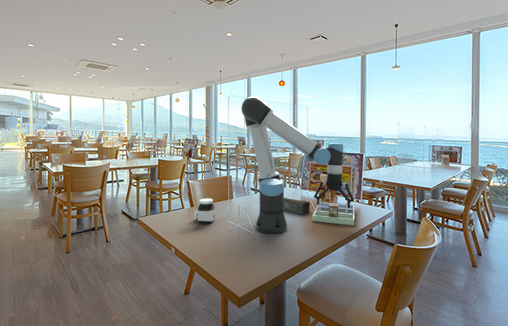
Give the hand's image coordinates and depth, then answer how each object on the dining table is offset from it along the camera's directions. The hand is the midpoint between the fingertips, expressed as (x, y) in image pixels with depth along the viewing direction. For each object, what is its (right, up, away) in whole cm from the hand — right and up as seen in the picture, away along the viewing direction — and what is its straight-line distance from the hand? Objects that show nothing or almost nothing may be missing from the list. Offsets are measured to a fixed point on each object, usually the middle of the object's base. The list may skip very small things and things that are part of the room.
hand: (332, 212), depth 142 cm
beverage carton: (-18, -3, +20) cm, 28 cm away
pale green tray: (0, -4, 0) cm, 4 cm away
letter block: (0, -4, 0) cm, 4 cm away
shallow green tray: (+4, -3, +10) cm, 11 cm away
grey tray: (+7, -2, +19) cm, 21 cm away
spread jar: (-68, -5, +1) cm, 68 cm away
